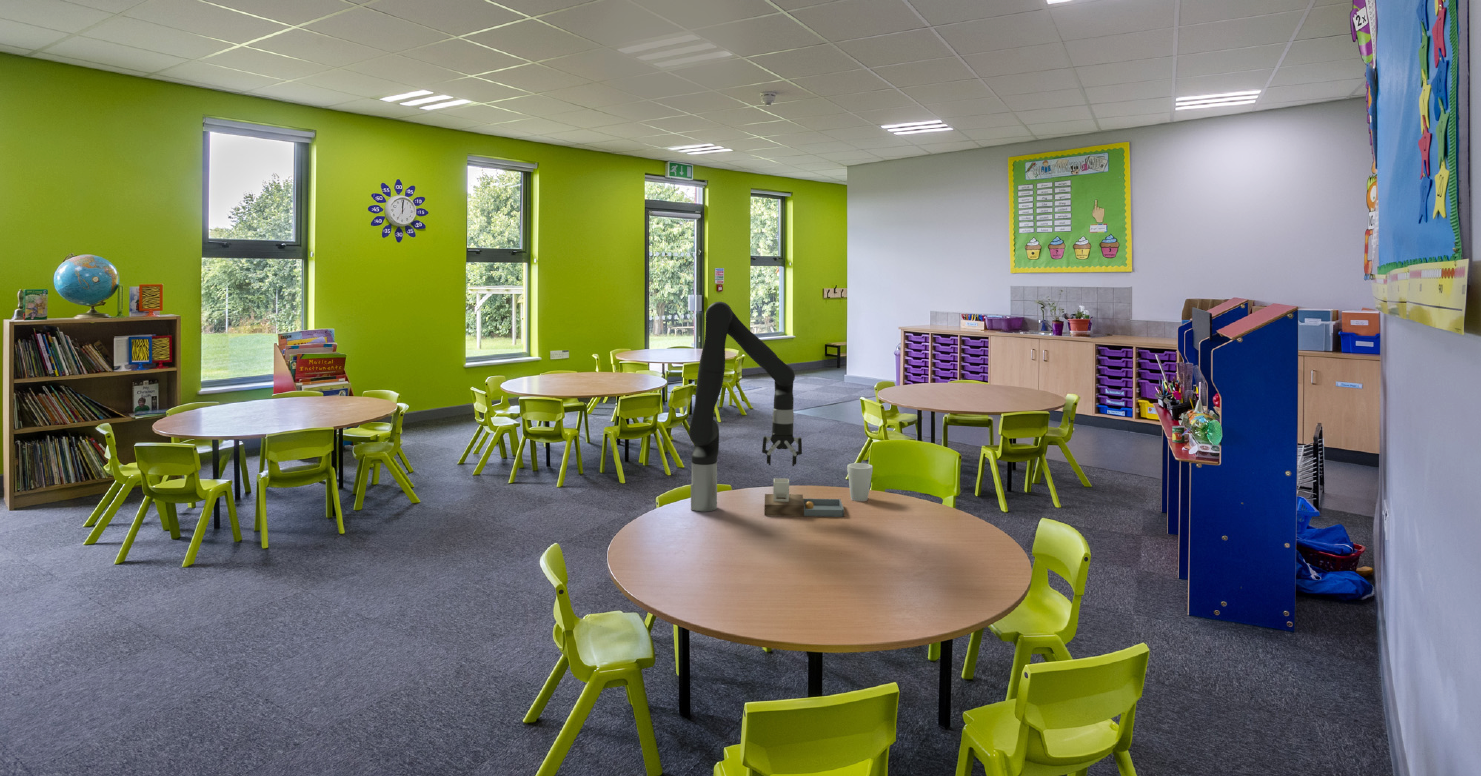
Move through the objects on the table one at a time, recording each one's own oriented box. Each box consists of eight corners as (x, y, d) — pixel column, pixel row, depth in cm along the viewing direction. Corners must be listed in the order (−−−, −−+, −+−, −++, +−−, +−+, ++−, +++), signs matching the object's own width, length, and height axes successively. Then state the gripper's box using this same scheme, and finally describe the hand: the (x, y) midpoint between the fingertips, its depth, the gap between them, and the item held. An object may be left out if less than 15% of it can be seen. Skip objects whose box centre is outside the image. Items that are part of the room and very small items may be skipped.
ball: (804, 505, 280) (811, 501, 279) (803, 502, 283) (810, 498, 282) (808, 512, 280) (815, 508, 280) (807, 509, 283) (814, 505, 283)
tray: (804, 516, 275) (804, 509, 274) (802, 505, 289) (802, 498, 288) (843, 516, 274) (843, 509, 274) (840, 505, 288) (840, 499, 288)
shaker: (773, 501, 279) (773, 482, 278) (773, 497, 284) (773, 478, 283) (788, 501, 279) (789, 482, 278) (788, 497, 284) (788, 478, 283)
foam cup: (842, 497, 299) (842, 464, 298) (862, 494, 303) (863, 462, 302) (855, 503, 291) (856, 469, 289) (876, 500, 295) (877, 467, 293)
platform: (764, 515, 275) (764, 504, 275) (764, 504, 289) (764, 493, 289) (804, 516, 275) (804, 505, 274) (802, 505, 289) (802, 494, 288)
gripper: (763, 422, 274) (761, 467, 276) (803, 423, 274) (801, 468, 276) (763, 418, 282) (761, 462, 284) (802, 419, 281) (800, 463, 283)
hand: (781, 465), depth 280 cm, fingers open, 8 cm apart
